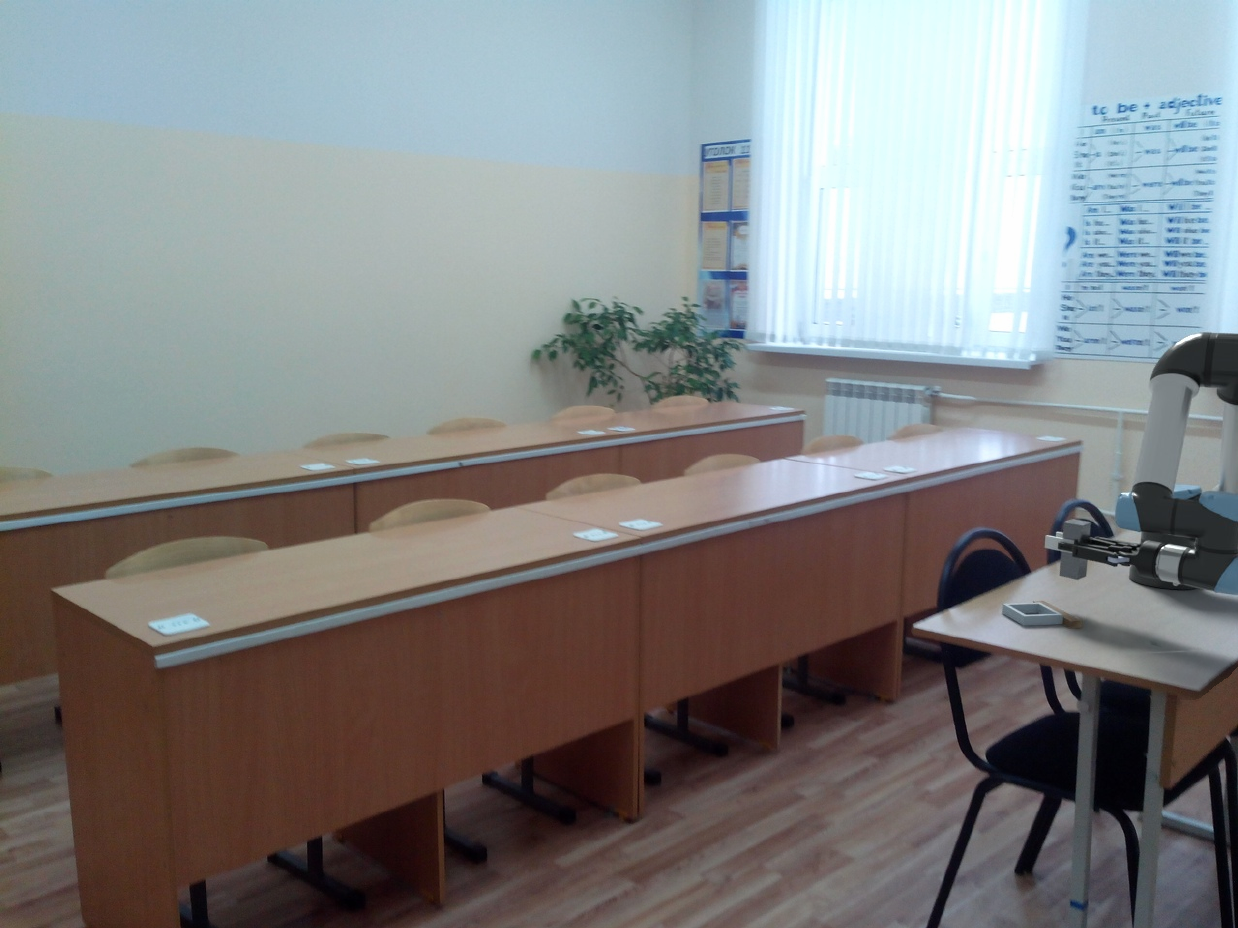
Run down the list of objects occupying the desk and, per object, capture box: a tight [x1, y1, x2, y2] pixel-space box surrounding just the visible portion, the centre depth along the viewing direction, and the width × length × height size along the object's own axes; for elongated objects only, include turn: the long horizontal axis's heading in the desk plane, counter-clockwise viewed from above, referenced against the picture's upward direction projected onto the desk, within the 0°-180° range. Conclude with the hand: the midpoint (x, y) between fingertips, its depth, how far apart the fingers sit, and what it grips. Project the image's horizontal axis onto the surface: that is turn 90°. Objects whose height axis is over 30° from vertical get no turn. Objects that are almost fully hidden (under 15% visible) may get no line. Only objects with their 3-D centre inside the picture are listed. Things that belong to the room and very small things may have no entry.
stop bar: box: [1058, 518, 1092, 581], centre depth 226 cm, size 4×4×12 cm
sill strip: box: [1032, 600, 1083, 629], centre depth 221 cm, size 2×14×2 cm, turn 9°
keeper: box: [1001, 602, 1063, 627], centre depth 220 cm, size 9×9×2 cm
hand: (1051, 539), depth 230 cm, fingers closed on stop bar, 4 cm apart
